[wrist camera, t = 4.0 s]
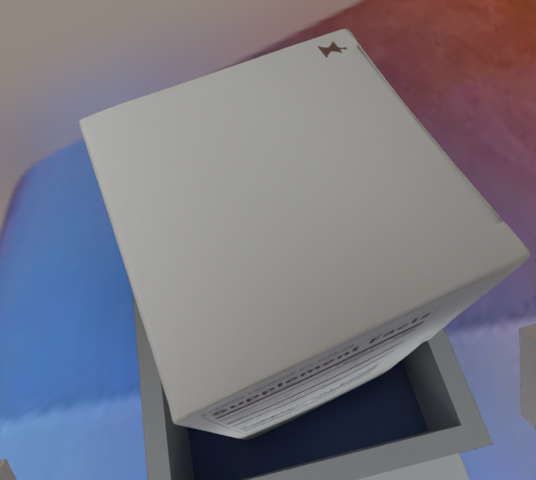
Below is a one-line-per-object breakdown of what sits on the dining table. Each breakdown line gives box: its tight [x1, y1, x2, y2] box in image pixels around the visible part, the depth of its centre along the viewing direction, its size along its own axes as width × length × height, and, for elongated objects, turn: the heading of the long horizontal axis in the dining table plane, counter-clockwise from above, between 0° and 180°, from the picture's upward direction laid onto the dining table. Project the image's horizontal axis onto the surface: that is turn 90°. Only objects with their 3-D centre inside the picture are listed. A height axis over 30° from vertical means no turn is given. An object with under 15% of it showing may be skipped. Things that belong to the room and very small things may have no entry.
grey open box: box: [133, 294, 493, 480], centre depth 24 cm, size 15×26×5 cm, turn 13°
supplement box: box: [79, 29, 530, 440], centre depth 18 cm, size 10×9×17 cm
